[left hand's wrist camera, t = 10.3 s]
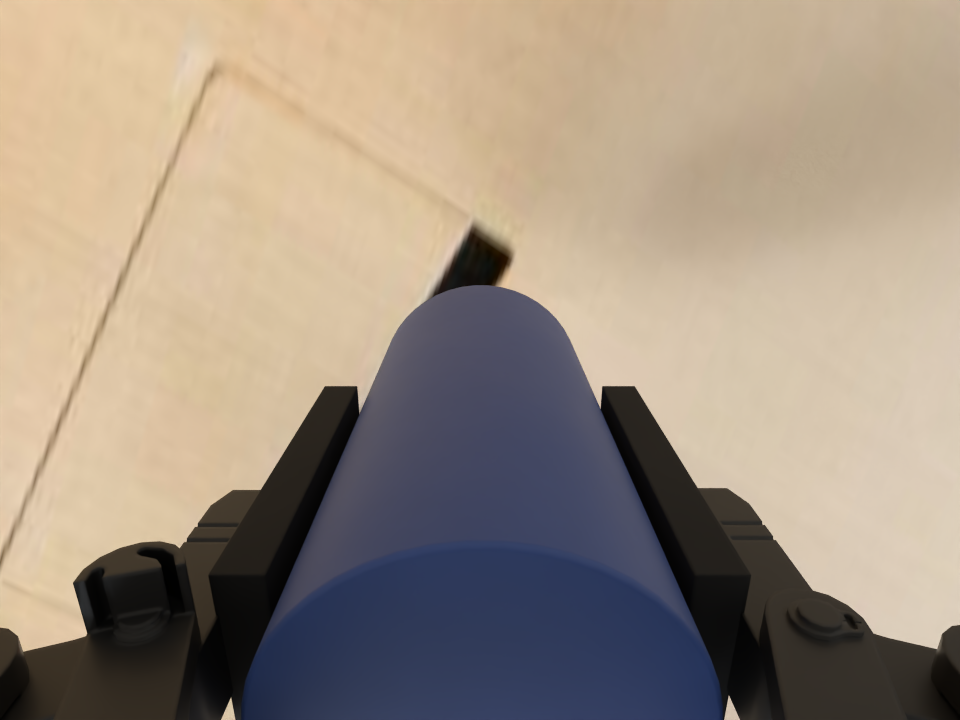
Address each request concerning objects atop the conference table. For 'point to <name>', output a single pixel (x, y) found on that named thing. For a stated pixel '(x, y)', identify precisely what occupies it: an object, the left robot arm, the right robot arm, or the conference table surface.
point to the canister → (481, 547)
